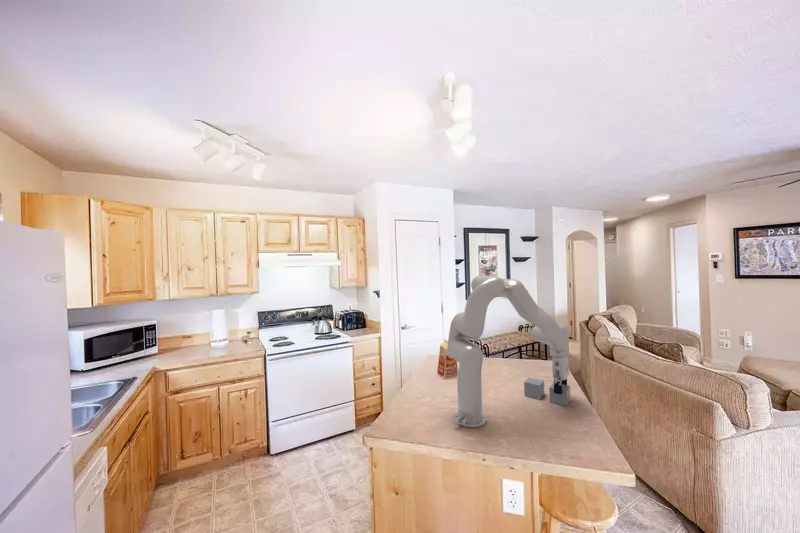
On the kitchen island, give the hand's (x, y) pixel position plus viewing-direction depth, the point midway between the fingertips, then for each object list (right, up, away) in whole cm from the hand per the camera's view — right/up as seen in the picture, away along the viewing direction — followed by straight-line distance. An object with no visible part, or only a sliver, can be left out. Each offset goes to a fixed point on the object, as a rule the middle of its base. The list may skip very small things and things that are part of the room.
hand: (560, 389), depth 143 cm
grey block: (0, -5, 0) cm, 5 cm away
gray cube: (-9, -5, +7) cm, 12 cm away
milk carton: (-45, -6, +35) cm, 58 cm away
